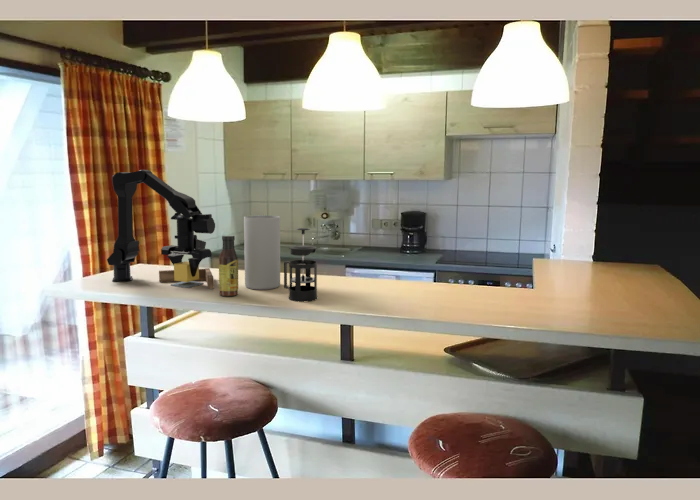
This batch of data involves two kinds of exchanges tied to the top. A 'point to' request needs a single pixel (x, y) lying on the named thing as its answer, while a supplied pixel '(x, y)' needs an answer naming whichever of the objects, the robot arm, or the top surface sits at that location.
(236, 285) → the sauce bottle
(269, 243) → the cylinder vase
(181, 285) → the pad
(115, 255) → the robot arm
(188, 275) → the ochre cube
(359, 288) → the top surface
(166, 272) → the corner arena
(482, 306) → the top surface
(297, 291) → the french press
